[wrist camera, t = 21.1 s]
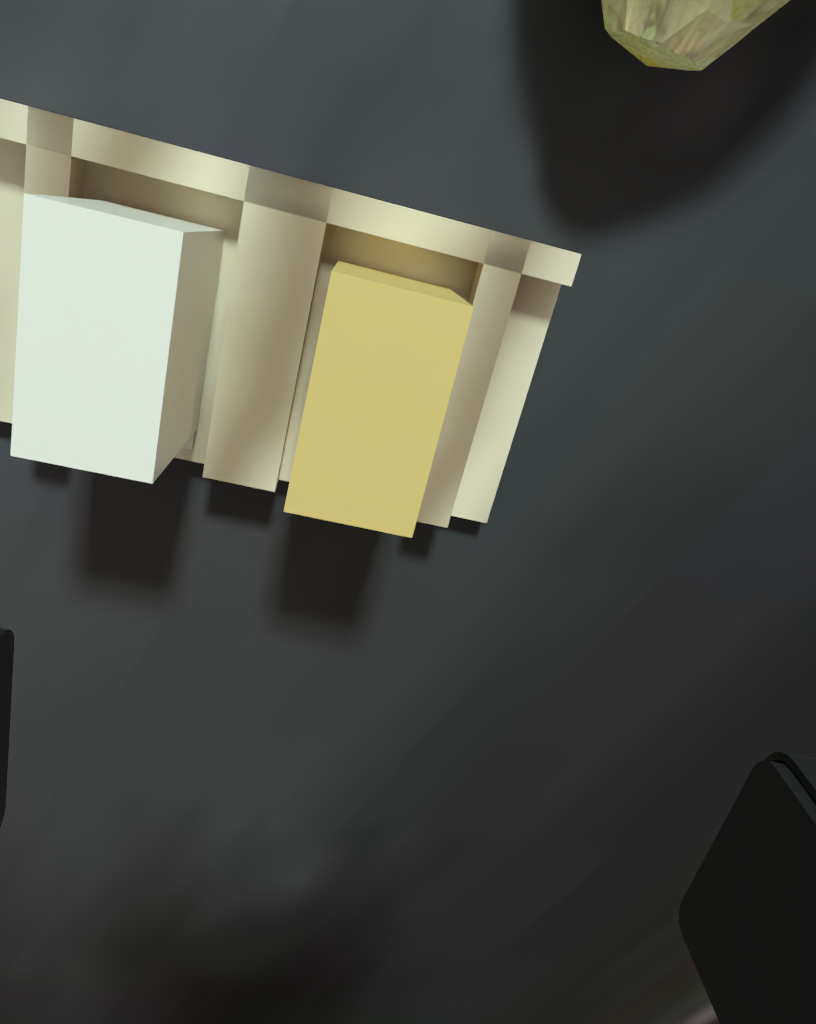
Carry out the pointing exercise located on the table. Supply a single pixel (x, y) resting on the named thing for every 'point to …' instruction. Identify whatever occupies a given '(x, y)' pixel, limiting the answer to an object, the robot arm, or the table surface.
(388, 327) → the ochre bar
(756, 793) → the robot arm
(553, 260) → the slot board
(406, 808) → the table surface
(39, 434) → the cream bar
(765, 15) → the lettuce
